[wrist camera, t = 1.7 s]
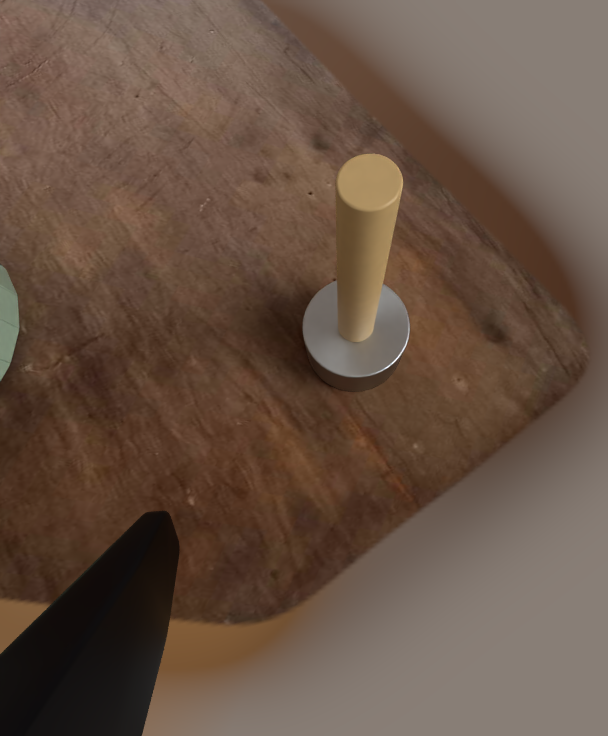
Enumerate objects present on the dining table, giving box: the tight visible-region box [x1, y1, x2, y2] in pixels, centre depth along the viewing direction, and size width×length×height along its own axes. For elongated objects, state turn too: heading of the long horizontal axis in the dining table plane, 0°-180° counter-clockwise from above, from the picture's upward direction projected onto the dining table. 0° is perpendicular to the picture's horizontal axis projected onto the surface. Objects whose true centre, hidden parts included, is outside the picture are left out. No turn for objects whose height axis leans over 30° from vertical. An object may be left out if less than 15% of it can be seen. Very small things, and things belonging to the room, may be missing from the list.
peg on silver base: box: [302, 154, 410, 392], centre depth 17 cm, size 5×5×13 cm
